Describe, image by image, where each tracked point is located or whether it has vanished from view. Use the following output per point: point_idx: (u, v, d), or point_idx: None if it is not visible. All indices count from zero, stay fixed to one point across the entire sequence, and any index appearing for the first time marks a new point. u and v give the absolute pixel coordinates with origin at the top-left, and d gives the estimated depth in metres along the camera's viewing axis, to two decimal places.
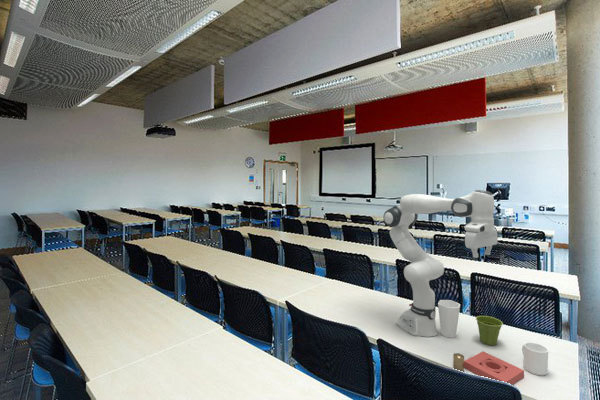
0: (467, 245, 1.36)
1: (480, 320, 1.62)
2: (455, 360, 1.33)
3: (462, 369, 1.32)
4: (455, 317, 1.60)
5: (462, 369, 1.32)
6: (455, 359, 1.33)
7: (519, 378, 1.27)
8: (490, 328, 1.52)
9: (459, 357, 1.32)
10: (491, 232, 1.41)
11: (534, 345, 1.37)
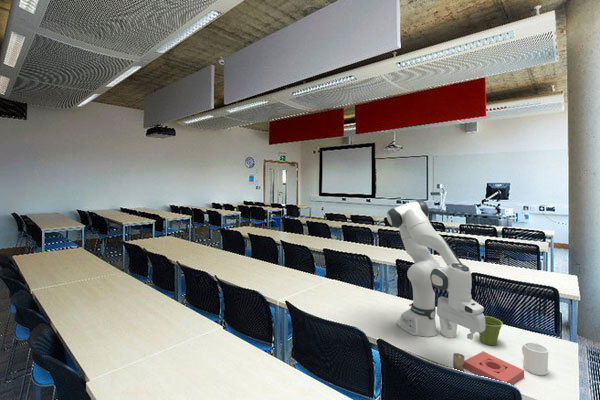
0: (482, 330, 1.23)
1: None
2: (455, 360, 1.33)
3: (462, 369, 1.32)
4: None
5: (462, 369, 1.32)
6: (455, 359, 1.33)
7: (519, 378, 1.27)
8: (490, 328, 1.52)
9: (459, 357, 1.32)
10: None
11: (534, 345, 1.37)
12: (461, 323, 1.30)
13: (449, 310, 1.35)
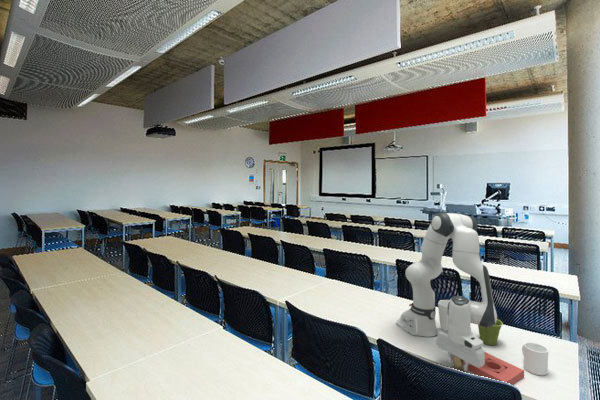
0: (481, 365, 1.24)
1: None
2: (455, 360, 1.33)
3: (462, 369, 1.32)
4: None
5: (462, 369, 1.32)
6: (455, 359, 1.33)
7: (519, 378, 1.27)
8: (490, 328, 1.52)
9: None
10: None
11: (534, 345, 1.37)
12: (461, 356, 1.31)
13: (449, 342, 1.35)
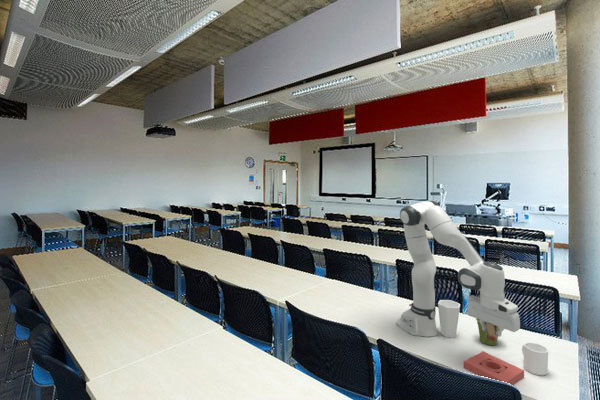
0: (516, 329, 1.22)
1: None
2: (488, 326, 1.31)
3: (495, 335, 1.30)
4: (455, 317, 1.60)
5: None
6: (488, 325, 1.31)
7: (519, 378, 1.27)
8: None
9: None
10: None
11: (534, 345, 1.37)
12: (494, 322, 1.29)
13: (481, 309, 1.34)
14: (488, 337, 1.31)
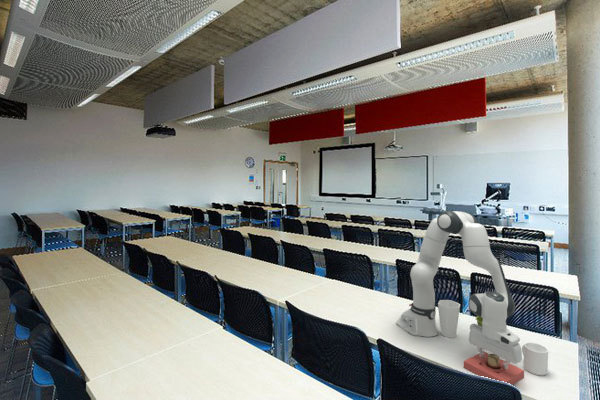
0: (518, 361, 1.23)
1: (480, 320, 1.62)
2: (490, 360, 1.32)
3: None
4: (455, 317, 1.60)
5: None
6: (490, 360, 1.32)
7: (519, 378, 1.27)
8: None
9: (494, 358, 1.31)
10: None
11: (534, 345, 1.37)
12: (496, 352, 1.30)
13: (483, 338, 1.34)
14: None
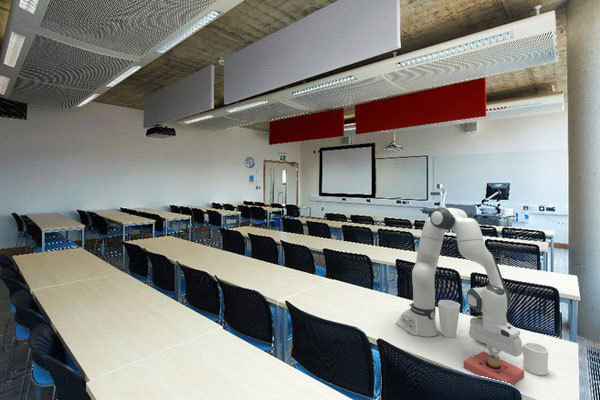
0: (519, 354, 1.23)
1: None
2: (490, 360, 1.32)
3: None
4: (455, 317, 1.60)
5: None
6: (490, 359, 1.32)
7: (519, 378, 1.27)
8: None
9: (495, 358, 1.31)
10: None
11: (534, 345, 1.37)
12: (496, 346, 1.29)
13: (483, 332, 1.34)
14: None
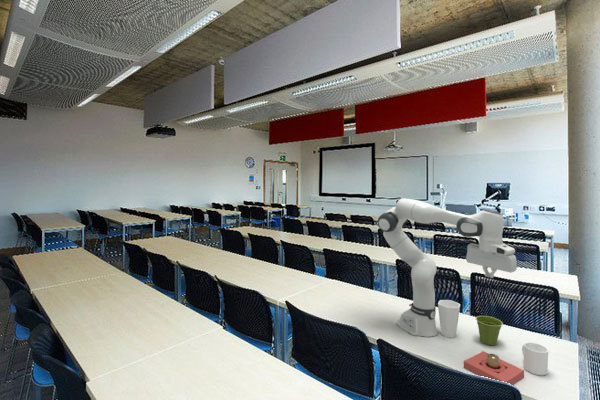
0: (513, 269, 1.29)
1: (480, 320, 1.62)
2: (489, 360, 1.32)
3: None
4: (455, 317, 1.60)
5: None
6: (489, 360, 1.32)
7: (519, 378, 1.27)
8: (490, 328, 1.52)
9: (494, 358, 1.31)
10: None
11: (534, 345, 1.37)
12: (492, 265, 1.35)
13: (479, 255, 1.40)
14: None
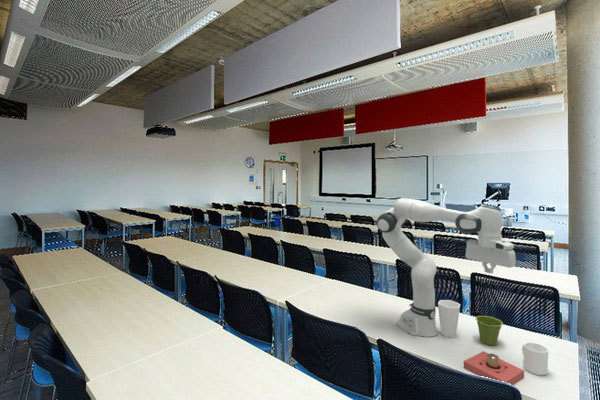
0: (512, 264, 1.29)
1: (480, 320, 1.62)
2: (489, 360, 1.32)
3: None
4: (455, 317, 1.60)
5: None
6: (489, 359, 1.32)
7: (519, 378, 1.27)
8: (490, 328, 1.52)
9: (494, 358, 1.31)
10: None
11: (534, 345, 1.37)
12: (491, 261, 1.36)
13: (479, 251, 1.40)
14: None
